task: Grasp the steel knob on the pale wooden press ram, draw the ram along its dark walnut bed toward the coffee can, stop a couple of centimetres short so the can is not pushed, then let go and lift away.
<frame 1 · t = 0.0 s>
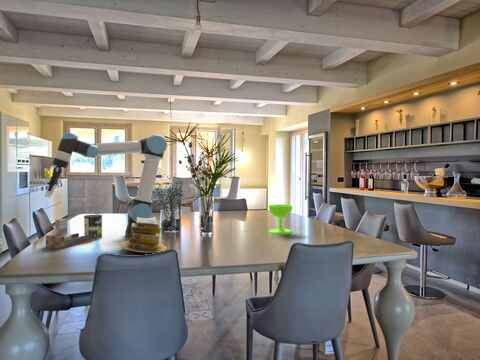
hand: (48, 196, 188), 28 cm above the table, tool tilted 20°, fingers open, 13 cm apart
press bed: (69, 244, 195), on the table
wineglass: (280, 232, 232), on the table
press ram: (62, 231, 190), point 8 cm above the table, slide at 0.0 cm
stacked food plate: (143, 250, 182), on the table
coffee can: (93, 238, 211), on the table
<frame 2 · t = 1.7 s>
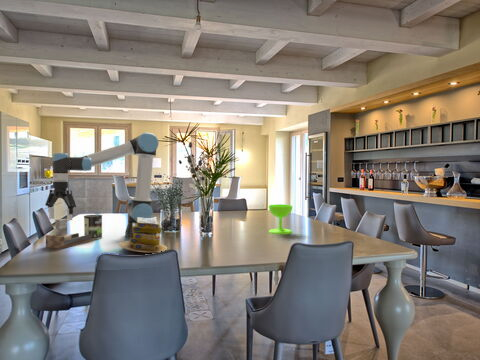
hand: (60, 219, 189), 15 cm above the table, tool pointing down, fingers open, 13 cm apart
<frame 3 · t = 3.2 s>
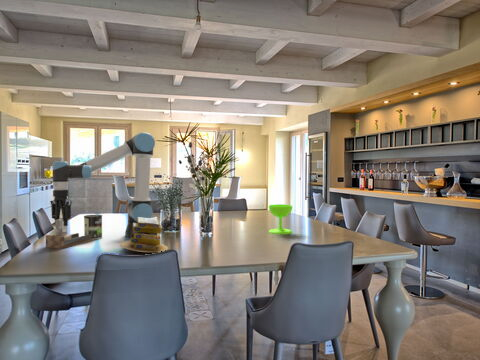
hand: (61, 231, 189), 8 cm above the table, tool pointing down, fingers closed on press ram, 4 cm apart
press ram: (62, 231, 190), point 8 cm above the table, slide at 0.0 cm, touching gripper
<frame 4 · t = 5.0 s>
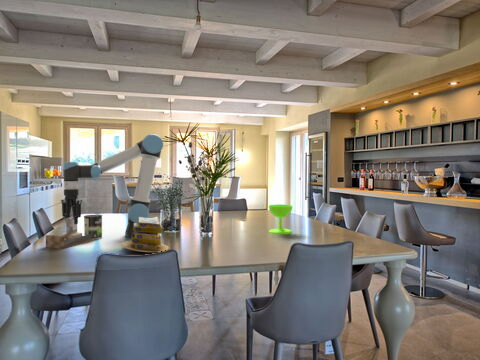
hand: (71, 229, 196), 8 cm above the table, tool pointing down, fingers closed on press ram, 4 cm apart
press ram: (72, 228, 196), point 8 cm above the table, slide at 7.0 cm, touching gripper
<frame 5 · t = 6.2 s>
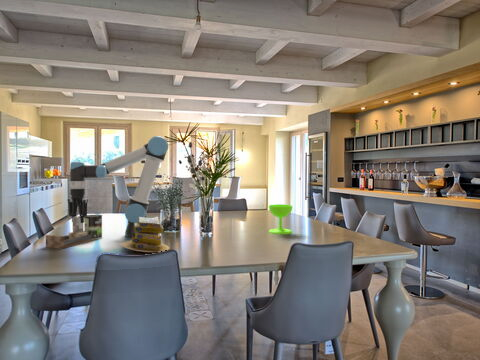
hand: (78, 228, 200), 8 cm above the table, tool pointing down, fingers closed on press ram, 4 cm apart
press ram: (78, 227, 200), point 8 cm above the table, slide at 11.5 cm, touching gripper
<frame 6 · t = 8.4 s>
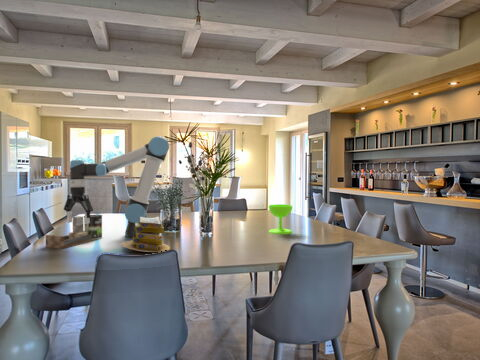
hand: (78, 223, 200), 11 cm above the table, tool pointing down, fingers open, 13 cm apart
press ram: (78, 227, 200), point 8 cm above the table, slide at 11.5 cm
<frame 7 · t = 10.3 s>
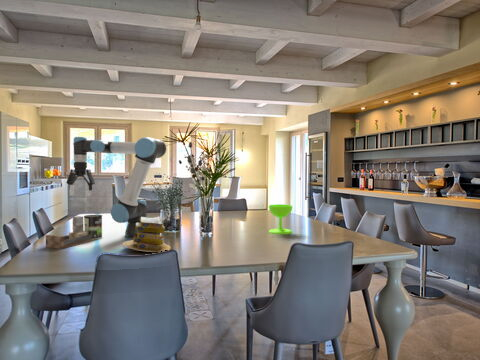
hand: (80, 195, 216), 26 cm above the table, tool pointing down, fingers open, 13 cm apart
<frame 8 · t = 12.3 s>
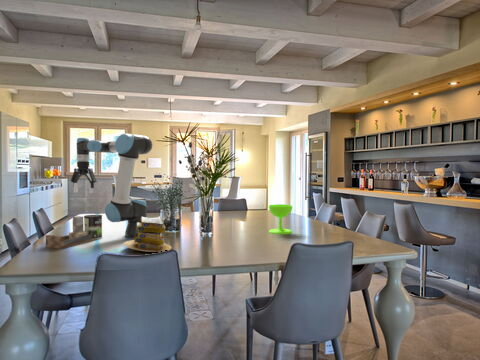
hand: (83, 192, 230), 27 cm above the table, tool pointing down, fingers open, 13 cm apart
at the end: press ram slide at 11.5 cm; coffee can moved 0.2 cm from its start; the gripper is holding nothing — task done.
